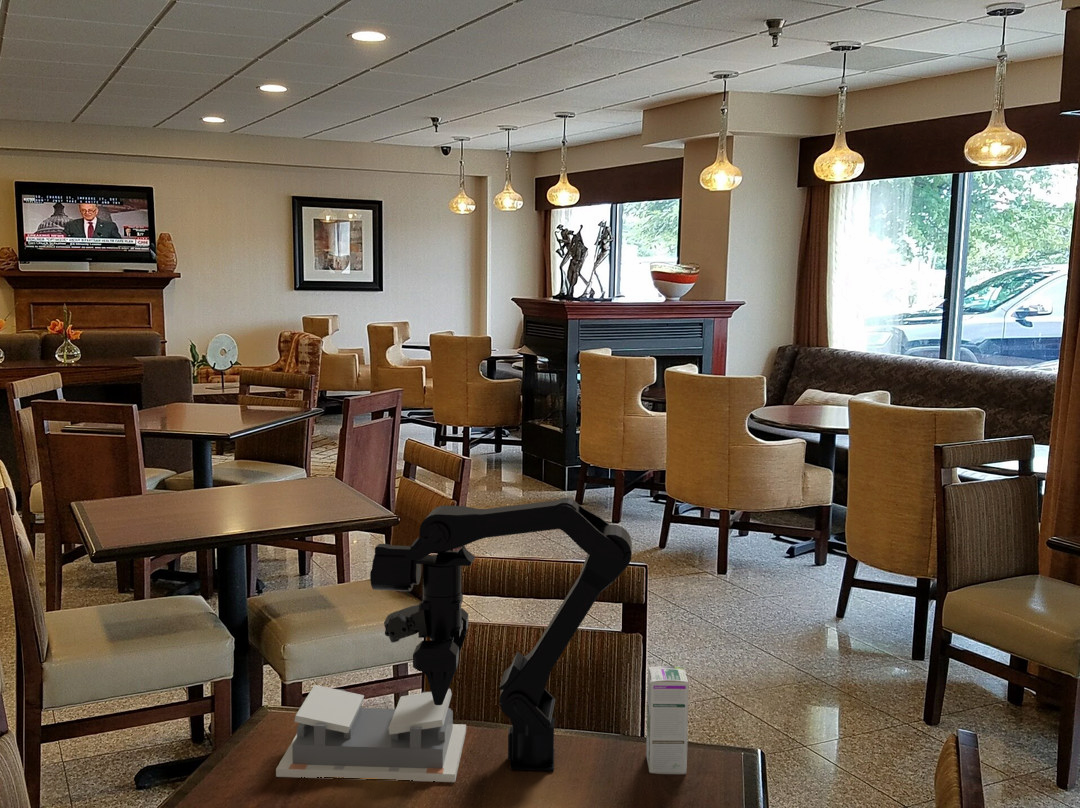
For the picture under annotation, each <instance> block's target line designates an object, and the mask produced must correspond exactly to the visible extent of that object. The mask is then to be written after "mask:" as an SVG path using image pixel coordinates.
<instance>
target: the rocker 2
mask: <svg viewBox="0 0 1080 808" xmlns="http://www.w3.org/2000/svg"><path fill="white" fill-rule="evenodd" d="M425 692H426V693H422V692H420V693H416V694H415V693H414V694H408V695H402V696H400V698H399V700H398V702H397V706H396V707H395V709H396V710H395V712H394V715H393V718H392V720H391V723H390V725H389V728H388V729H389V734H396V733H403V732H409V731H410V727H422V729H429V728H435V727H441V726H443V725H444V721H445V718H446V714H447V710H448V708H450V703H451V699H452V695H453V693H452V690H451V688H449V689H448V691H447V694H446V696H445V699H444V701H443V704H442V705H435V704H434V700H433V697H432V693H431V691H425Z"/></svg>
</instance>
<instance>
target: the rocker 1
mask: <svg viewBox="0 0 1080 808" xmlns="http://www.w3.org/2000/svg"><path fill="white" fill-rule="evenodd" d="M337 689H338V688H332V687H327V686H322V685H317V684H314V685H313V687H312V688H311V690H310V692H309V693H308V695H307V696H306V698H305V700H304V701H303V703H302V705H301V706H300V707H299V709H298V711H297V713H296V714H295V717H294V723H298V724H299V723H302V724H307V725H312V726H314V725H315V724H326V729H330V730H335V731H339V732H344V733H348V732H349V730H350V728H351V726H352V724H353V722H354V719H355V717H356V715H357V713H358V711H359V709H360V707H361V706H362V704H363V702H364V698H365V695H364V694H359V693H355V692H351V691H350V692H349V691H346V690H345V691H341V690H337Z"/></svg>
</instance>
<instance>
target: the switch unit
mask: <svg viewBox="0 0 1080 808" xmlns="http://www.w3.org/2000/svg"><path fill="white" fill-rule="evenodd" d="M336 689H337V690H341V691H346V690H345V688H344V689H342V688H336ZM426 692H427V691H422V692H421V693H426ZM395 710H396V708H383V707H382V708H380V707H378V708H377V707H363V706H362V705H361V707H360V709H359V711H358V713H357V715H356V717H355V719H354V722H353V724H352V726H351V728H350V730H349V732H348V733H344V732H339V731H335V730H330V729H326V724H315V725H314V726H312V725H307V724H302V723H298V724H297V726H296V734H295V736H294V738H293V740H292V742H290V744H289V746H288V748H287V750H286V751H285V753H284V755H283V757H282V758H281V760H280V762H279V764H278V765H277V766H276V769H275V777H277V778H301V777H302V778H304V777H305V778H307V779H325V778H324V777H337V778H338V777H340V778H341V777H344V778H378V779H381V778H382V779H396V780H395V781H398V780H410V781H409V782H431V783H432V782H433V781H435V783H442V782H443V783H456V779H457V775H458V771H459V765H460V762H461V756H462V753H463V748H464V743H465V738H466V734H467V724H463V723H461V724H457V723H454V722H453V721H454V720H453V718H454V716H453V715H454V710H452V708H450V707H448V710H447V714H446V718H445V721H444V725H443V726H441V727H435V728H429V729H422V727H410V731H409V732H403V733H396V734H389V729H388V728H389V725H390V723H391V720H392V718H393V715H394V712H395ZM317 777H319V778H317ZM320 777H322V778H320ZM411 780H413V781H411ZM433 783H434V782H433Z"/></svg>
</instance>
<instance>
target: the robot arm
mask: <svg viewBox="0 0 1080 808" xmlns="http://www.w3.org/2000/svg"><path fill="white" fill-rule="evenodd" d="M552 530H561V531H562V532H563V533H565V534H566V535H567V536H568V537H569V538H570V539H571V540H572V541H573V542H574V543H575V544H576V545H577V546H578V547H579V548H580V549H581V550H582V551H583V552H585V553H586V554H587V555H586V557H585V559H584V563H583V566H582V568H581V571H580V574H579V576H578V577H577V578H576V579H575V581H574V584H572V587H571V588H570V590H569V591H568V593H567V595H566V596H565V597H564V599H563V601H562V603H561V604H560V606H559V607H558V609H557V610H556V612H555V614H554V615H553V617H552V619H551V620H550V621H549V623H548V624H547V626H546V628H545V630H544V631H543V633H542V635H541V636H540V638H539V640H538V641H537V642H536V644H535V646H534V648H532V649H531V651H529V652H528V653H527V654H526V655H525V656H524V655H523V654H522V653H520V652H519V651H516V654H515V656H514V658H513V661H512V663H511V664H510V666H509V667H507V668H506V669H505V670H504V672H503V675H502V678H501V681H500V685H499V687H498V689H499V690H500V695H499V700H498V703H499V706H500V710H501V711H502V713H503V714H504V715H505V716H506V717H508V718H509V719H510V723H511V726H510V727H509V728H508V735H507V760H508V761H510V765H509V766H510V770H513V771H538V772H539V771H541V772H542V771H543V772H552V771H554V770H555V752H556V751H555V747H554V746H555V717H553V713H554V708H555V702H556V698H555V697H554V695H552V694H551V693H550V692H549V691H548V690H547V689H546V686H547V683H548V681H549V678H550V675H551V673H552V669H553V668H554V667H555V665H556V664H557V662H558V660H559V658H560V657H561V655H562V654H563V652H564V651H565V650H566V648H567V646H568V644H569V643H570V641H571V640H572V638H573V637H574V635H575V634H576V632H577V630H578V629H579V627H580V626H581V624H582V622H583V621H584V620H585V617H586V616H587V615H588V613H589V611H590V609H591V608H593V607H592V606H593V605H594V603H595V602H596V600H598V599H597V598H599V595H600V594H601V593H603V591H604V590H606V589H607V588H608V587H609V586H610V585H612V584H613V583H614V582H615V581H616V579H618V578H619V577H620V576H621V575H622V573H624V571H625V570H626V569H627V568H628V567H629V565H630V562H631V561H632V557H633V556H632V550H633V549H632V548H633V546H632V545H633V542H632V538H631V535H630V534H629V532H628V530H627V529H625V528H624V527H623V526H620V525H617V524H610V523H608V521H606V520H604V519H603V518H602V517H600V516H599V515H597V514H595V513H593V512H592V511H590V510H588V509H586V508H585V507H583V506H582V505H581V504H579V503H578V502H577V501H576V500H574V499H573V498H571V497H561V498H559V499H556V500H555V499H554V500H549V501H548V500H547V501H541V502H540V501H539V502H531V503H523V504H515V505H509V506H508V505H507V506H506V505H505V506H499V507H492V508H491V507H490V508H476V507H470V506H465V505H464V506H463V505H462V506H461V505H446V504H445V505H440V506H436V507H435V508H434V509H433V510H431V512H430V513H428V514H427V516H426V517H425V518H424V520H423V521H422V522H421V524H420V526H419V537H417V538H416V539H415V540H414V541H413V542H412V544H411V545H393V544H388V543H378V544H377V545H376V546H375V547H374V556H373V559H372V565H371V570H370V572H369V573H370V575H369V579H370V586H371V588H372V590H374V591H395V592H396V591H399V592H411V591H412V590H413V589H414V585H419V584H420V582H421V577H422V599H421V601H420V602H419V603H418V604H417V605H411V606H409V607H405V608H403V609H400V610H396V611H393V612H391V613H389V614H388V615H387V616H386V618H385V620H384V622H383V624H384V625H383V626H384V629H385V630H384V636H386V637H388V638H389V641H390V642H391V643H393V644H394V643H397V642H400V640H402V639H405V638H407V637H408V638H409V637H411V636H414V635H416V634H418V638H419V639H423V638H424V640H421V642H419V643H418V644H417V645H416V646H415V648H414V652H413V654H412V668H413V669H415V670H416V671H418V672H421V673H422V674H424V675H425V676H426V679H427V681H428V686H429V690H430V692H431V693H432V697H433V700H434V704H435V705H442V704H443V701H444V699H445V696H446V694H447V691H448V689H450V686H451V683H452V681H453V678H454V676H455V674H456V671H457V668H458V666H459V657H460V656H459V655H460V654H461V650H462V648H463V645H464V642H465V639H466V637H467V634H468V633H467V632H468V628H469V613H468V612H467V611H466V610H465V609H464V608H463V607H462V604H463V602H464V601H463V600H464V593H462V567H470V566H471V565H472V564H473V562H474V560H475V558H476V557H475V555H474V554H473V553H472V552H471V551H469V550H468V549H467V547H466V546H467V545H469V544H471V543H474V542H476V541H480V540H482V539H483V540H484V539H486V538H488V539H489V538H495V537H503V536H504V537H505V536H512V535H513V536H514V535H520V534H528V533H529V534H530V533H537V532H544V531H552ZM455 549H457V550H455ZM432 553H437V554H432ZM426 638H429V640H425V639H426Z"/></svg>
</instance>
